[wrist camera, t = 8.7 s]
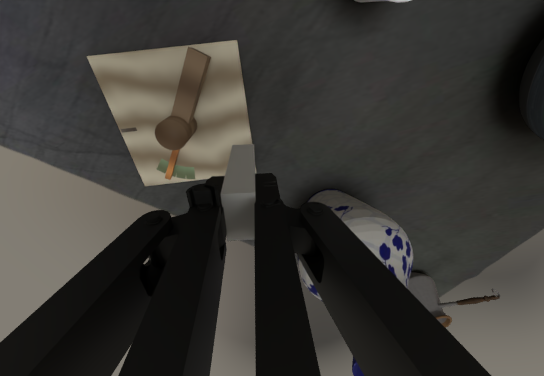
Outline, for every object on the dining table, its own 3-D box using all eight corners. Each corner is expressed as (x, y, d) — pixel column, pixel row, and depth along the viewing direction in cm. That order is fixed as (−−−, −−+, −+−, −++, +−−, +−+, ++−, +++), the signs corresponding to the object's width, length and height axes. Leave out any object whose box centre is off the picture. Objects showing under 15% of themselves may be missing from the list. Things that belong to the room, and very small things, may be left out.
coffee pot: (408, 295, 71) (442, 347, 58) (382, 287, 68) (412, 340, 55) (462, 252, 62) (517, 302, 49) (435, 240, 59) (486, 290, 46)
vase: (285, 242, 55) (315, 402, 29) (287, 174, 46) (333, 323, 20) (359, 237, 56) (450, 387, 30) (375, 169, 47) (529, 305, 21)
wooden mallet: (180, 180, 43) (169, 200, 37) (156, 172, 41) (141, 191, 36) (218, 60, 33) (210, 59, 27) (188, 45, 32) (174, 41, 26)
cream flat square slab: (91, 56, 33) (86, 56, 32) (237, 40, 33) (236, 40, 32) (147, 183, 44) (145, 186, 43) (256, 170, 44) (256, 173, 43)
